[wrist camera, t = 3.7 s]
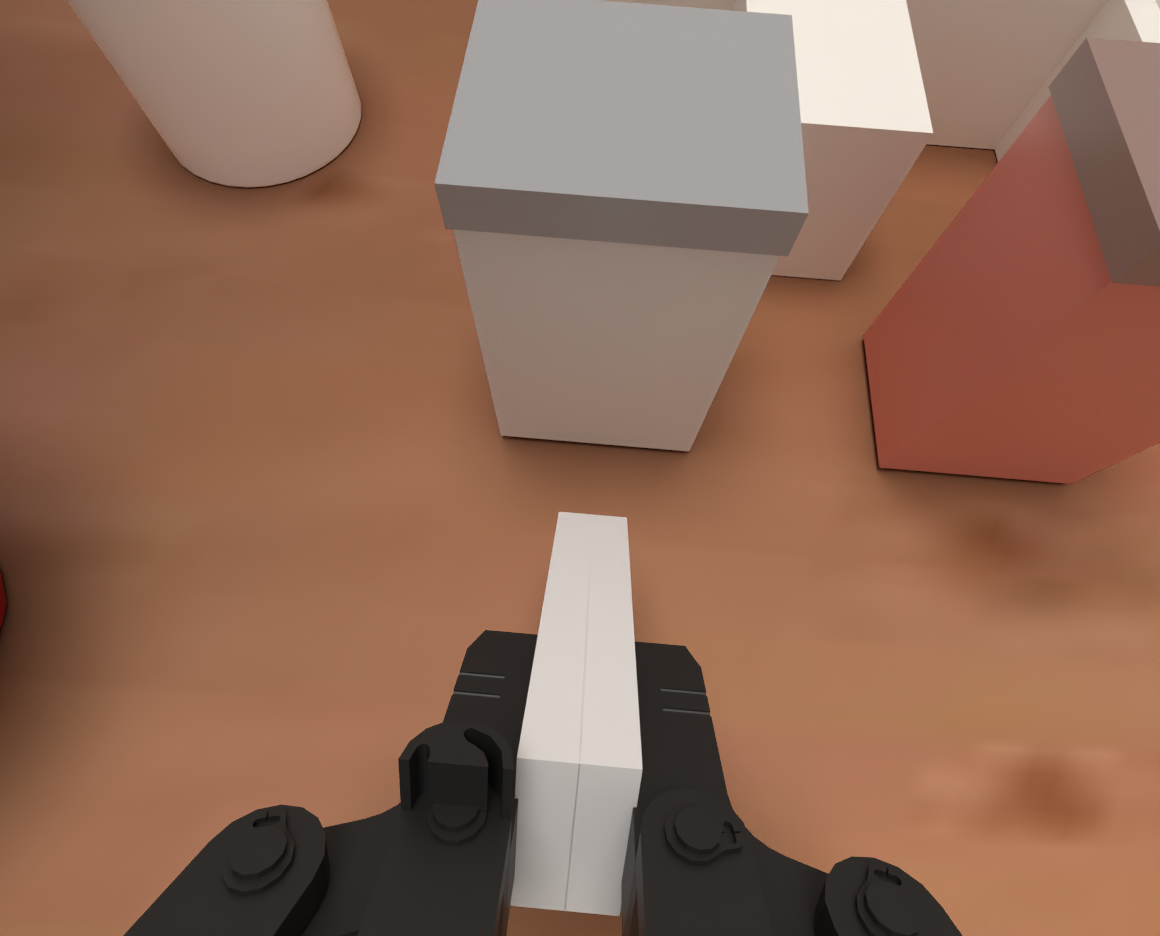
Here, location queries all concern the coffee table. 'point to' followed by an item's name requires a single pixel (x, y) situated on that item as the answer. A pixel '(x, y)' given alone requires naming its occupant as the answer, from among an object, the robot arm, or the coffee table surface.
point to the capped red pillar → (1038, 295)
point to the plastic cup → (2, 600)
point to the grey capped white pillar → (619, 207)
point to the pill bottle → (233, 82)
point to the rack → (916, 92)
